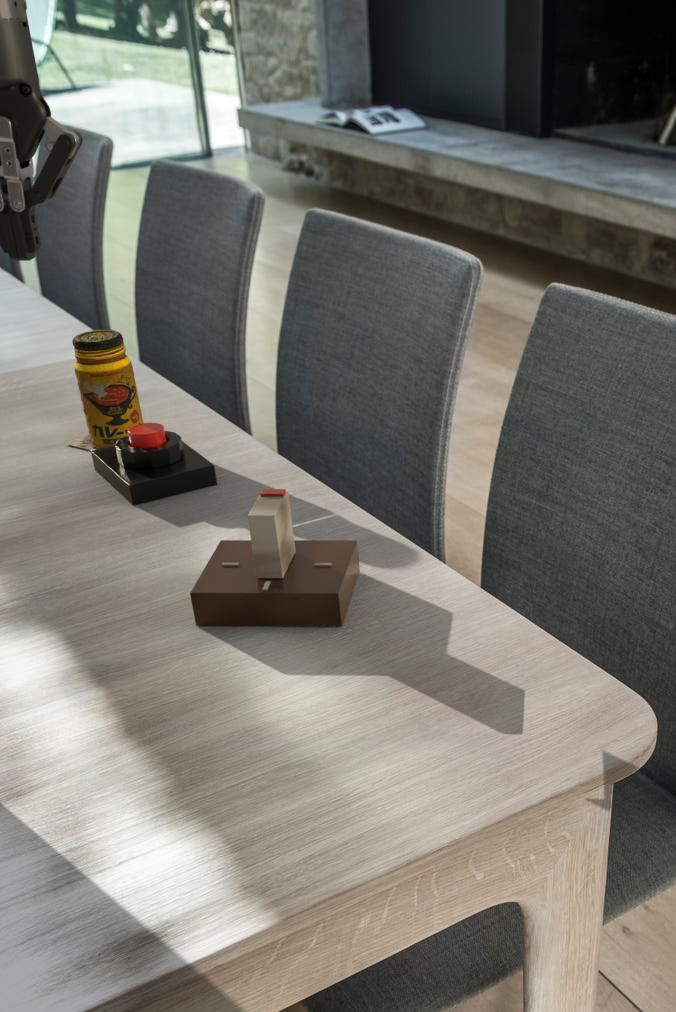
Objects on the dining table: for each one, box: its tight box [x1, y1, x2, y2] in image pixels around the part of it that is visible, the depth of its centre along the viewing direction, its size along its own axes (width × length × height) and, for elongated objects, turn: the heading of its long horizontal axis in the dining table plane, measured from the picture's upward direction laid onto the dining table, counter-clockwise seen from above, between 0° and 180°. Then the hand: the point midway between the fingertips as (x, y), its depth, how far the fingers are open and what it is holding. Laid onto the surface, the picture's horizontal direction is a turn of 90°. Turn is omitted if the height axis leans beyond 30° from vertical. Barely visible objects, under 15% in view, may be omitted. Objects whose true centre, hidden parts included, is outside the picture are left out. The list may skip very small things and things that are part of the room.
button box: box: [90, 430, 218, 506], centre depth 120 cm, size 12×9×4 cm
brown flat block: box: [189, 539, 361, 627], centre depth 96 cm, size 12×10×3 cm
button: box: [128, 422, 167, 448], centre depth 118 cm, size 4×4×2 cm
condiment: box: [64, 329, 144, 452], centre depth 127 cm, size 7×8×12 cm
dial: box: [247, 488, 296, 578], centre depth 94 cm, size 5×2×6 cm, turn 176°
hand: (24, 258), depth 95 cm, fingers closed
